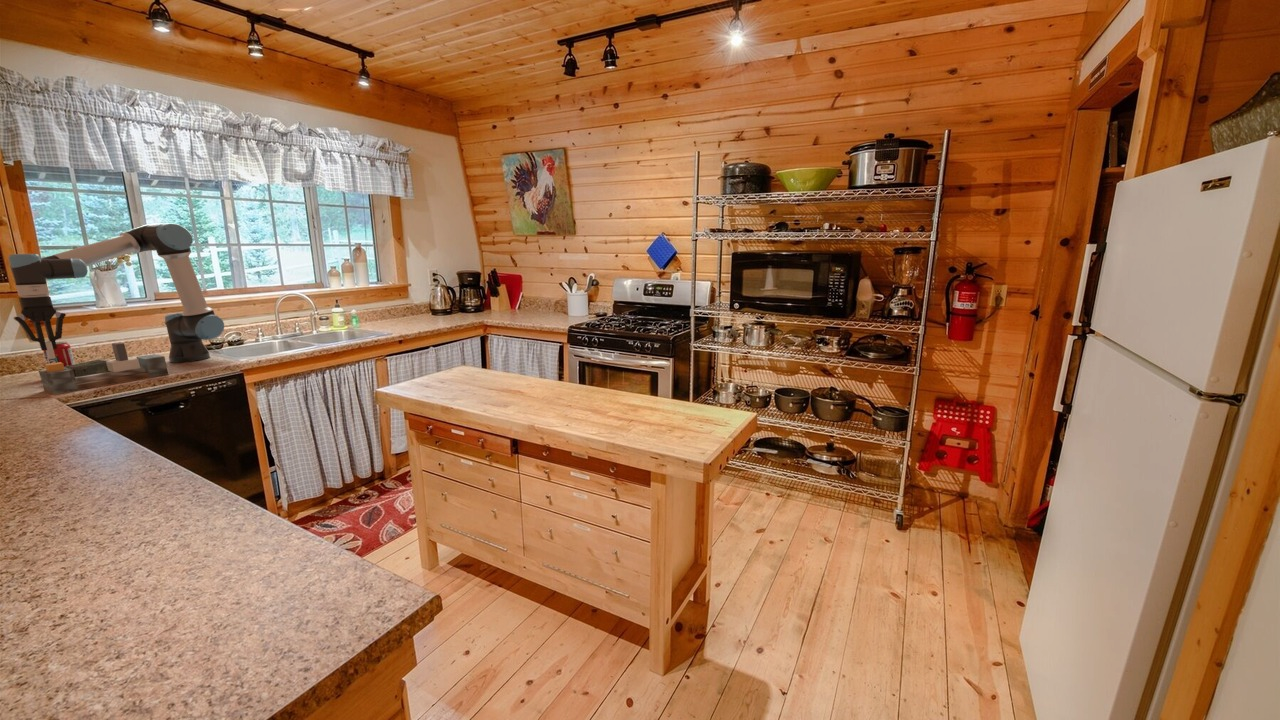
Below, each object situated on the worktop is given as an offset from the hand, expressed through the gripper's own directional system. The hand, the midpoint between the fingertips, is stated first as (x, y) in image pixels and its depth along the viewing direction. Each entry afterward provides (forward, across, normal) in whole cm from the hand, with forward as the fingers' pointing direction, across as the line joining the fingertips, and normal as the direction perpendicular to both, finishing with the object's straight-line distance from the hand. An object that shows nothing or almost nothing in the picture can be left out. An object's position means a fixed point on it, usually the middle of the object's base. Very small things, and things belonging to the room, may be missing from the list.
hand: (51, 358), depth 193 cm
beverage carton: (+13, +11, +22) cm, 28 cm away
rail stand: (+13, +14, 0) cm, 19 cm away
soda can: (+13, +8, +33) cm, 36 cm away
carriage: (+8, +19, 0) cm, 21 cm away
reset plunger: (+7, 0, 0) cm, 7 cm away
